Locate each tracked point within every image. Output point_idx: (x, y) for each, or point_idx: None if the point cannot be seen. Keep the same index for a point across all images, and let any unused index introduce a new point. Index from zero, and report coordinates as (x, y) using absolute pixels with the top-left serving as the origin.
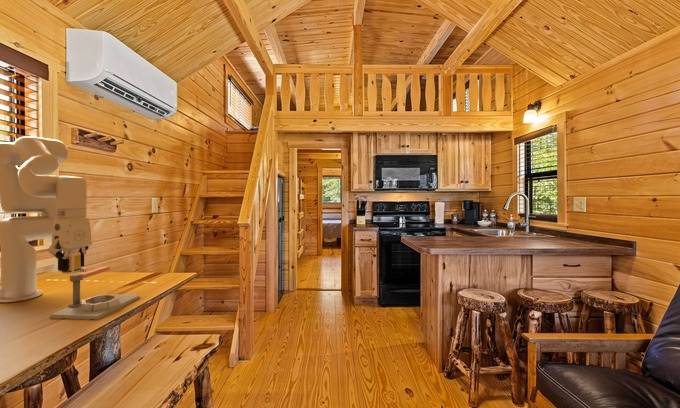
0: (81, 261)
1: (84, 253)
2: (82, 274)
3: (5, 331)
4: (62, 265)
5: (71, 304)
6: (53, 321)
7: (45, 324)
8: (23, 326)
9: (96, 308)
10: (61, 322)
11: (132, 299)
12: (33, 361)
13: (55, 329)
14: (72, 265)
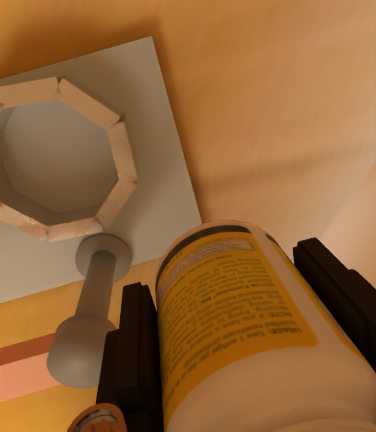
0: (148, 324)
1: (92, 426)
2: (51, 354)
3: (319, 240)
4: (369, 286)
5: (118, 267)
6: (222, 193)
7: (249, 189)
8: (279, 235)
9: (110, 105)
10: (220, 156)
11: None
12: None
13: (273, 105)
14: (280, 262)
